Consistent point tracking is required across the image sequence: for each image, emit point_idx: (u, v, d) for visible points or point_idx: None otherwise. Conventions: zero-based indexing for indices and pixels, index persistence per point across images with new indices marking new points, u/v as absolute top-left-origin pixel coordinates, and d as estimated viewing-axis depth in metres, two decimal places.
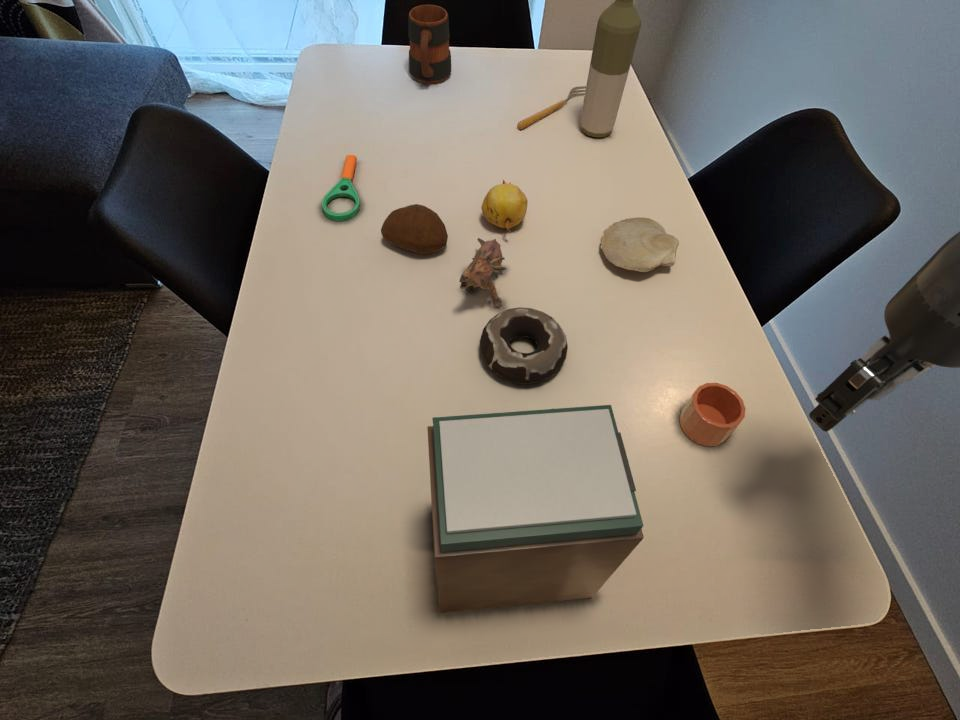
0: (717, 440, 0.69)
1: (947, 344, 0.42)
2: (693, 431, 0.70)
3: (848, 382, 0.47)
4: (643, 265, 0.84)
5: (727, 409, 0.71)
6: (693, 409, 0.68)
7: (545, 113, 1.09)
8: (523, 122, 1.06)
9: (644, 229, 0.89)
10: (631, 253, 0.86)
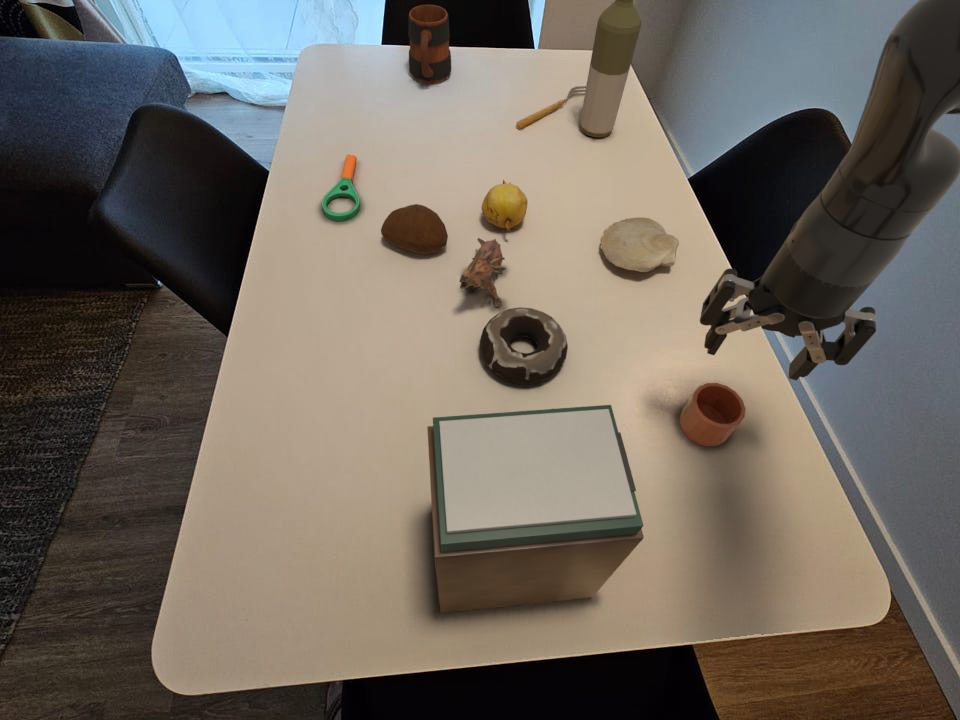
0: (717, 440, 0.69)
1: (781, 272, 0.49)
2: (693, 431, 0.70)
3: (718, 287, 0.55)
4: (643, 265, 0.84)
5: (727, 409, 0.71)
6: (693, 409, 0.68)
7: (544, 113, 1.09)
8: (522, 121, 1.07)
9: (644, 229, 0.89)
10: (631, 253, 0.86)
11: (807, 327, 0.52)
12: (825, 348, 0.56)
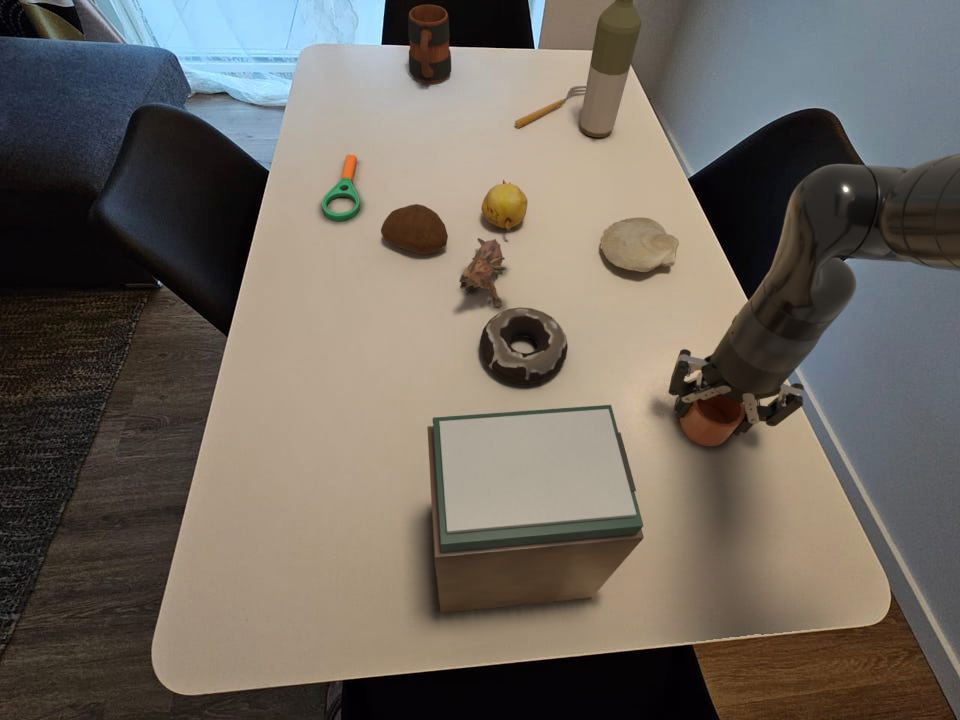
0: (717, 440, 0.69)
1: (724, 356, 0.59)
2: (693, 431, 0.70)
3: None
4: (643, 265, 0.84)
5: (727, 409, 0.71)
6: (693, 409, 0.68)
7: (543, 112, 1.09)
8: (520, 120, 1.07)
9: (644, 229, 0.89)
10: (631, 253, 0.86)
11: (749, 397, 0.62)
12: (758, 411, 0.66)
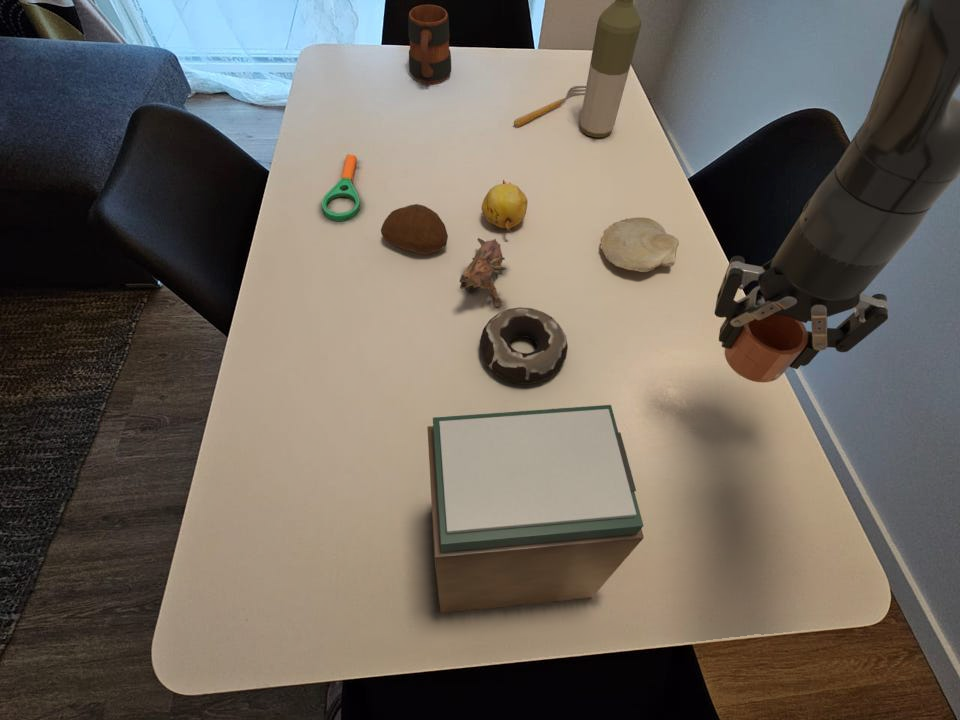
0: (773, 373, 0.57)
1: (793, 252, 0.47)
2: (743, 363, 0.58)
3: (727, 276, 0.54)
4: (643, 265, 0.84)
5: (783, 338, 0.59)
6: (744, 334, 0.56)
7: (542, 111, 1.09)
8: (519, 120, 1.07)
9: (644, 229, 0.89)
10: (631, 253, 0.86)
11: (820, 311, 0.50)
12: (826, 335, 0.54)
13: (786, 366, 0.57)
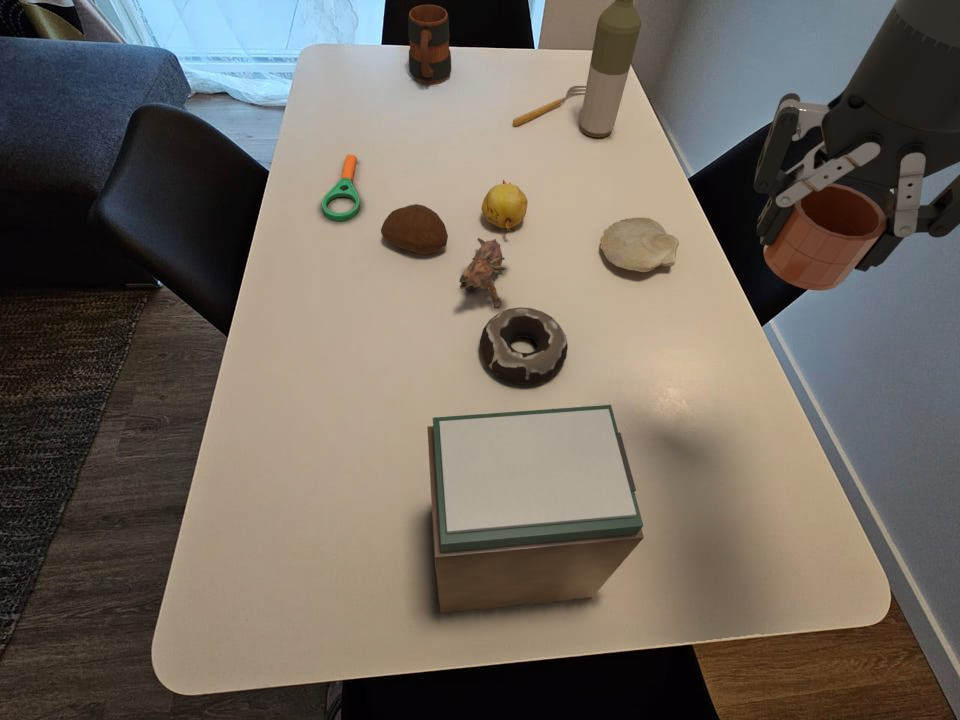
0: (833, 275, 0.41)
1: (884, 58, 0.31)
2: (792, 262, 0.41)
3: None
4: (643, 265, 0.84)
5: (845, 232, 0.43)
6: (796, 217, 0.40)
7: (541, 111, 1.09)
8: (518, 119, 1.07)
9: (644, 229, 0.89)
10: (631, 253, 0.86)
11: (914, 164, 0.34)
12: None
13: (853, 264, 0.40)
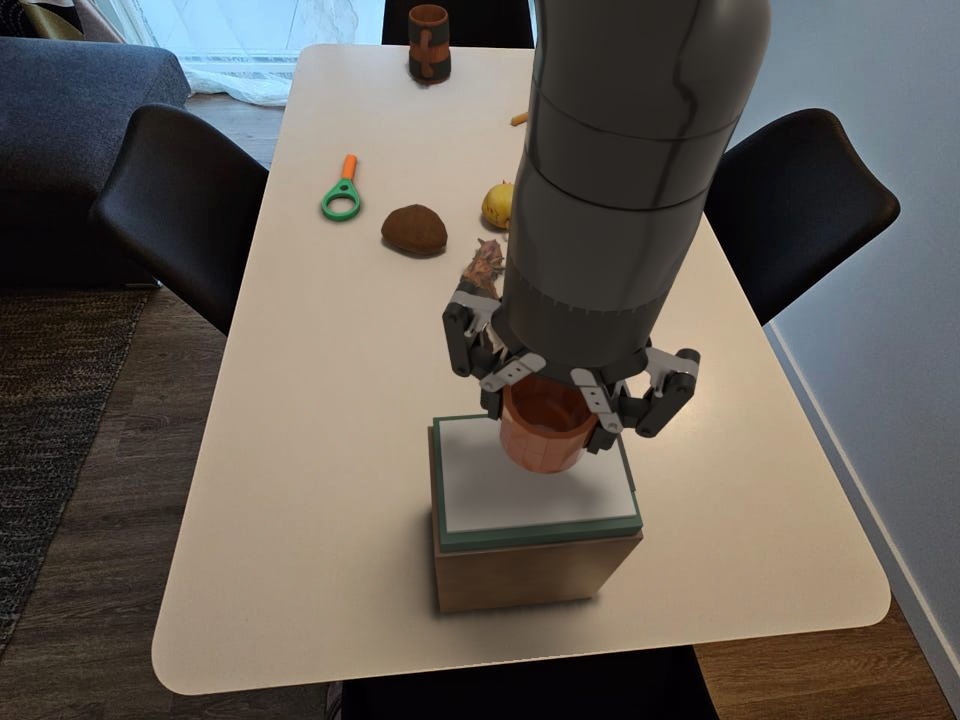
0: (554, 463, 0.36)
1: (506, 281, 0.26)
2: (511, 446, 0.37)
3: None
4: None
5: (581, 404, 0.38)
6: (503, 404, 0.35)
7: None
8: (517, 118, 1.07)
9: None
10: None
11: (584, 378, 0.29)
12: (622, 409, 0.33)
13: (573, 453, 0.36)
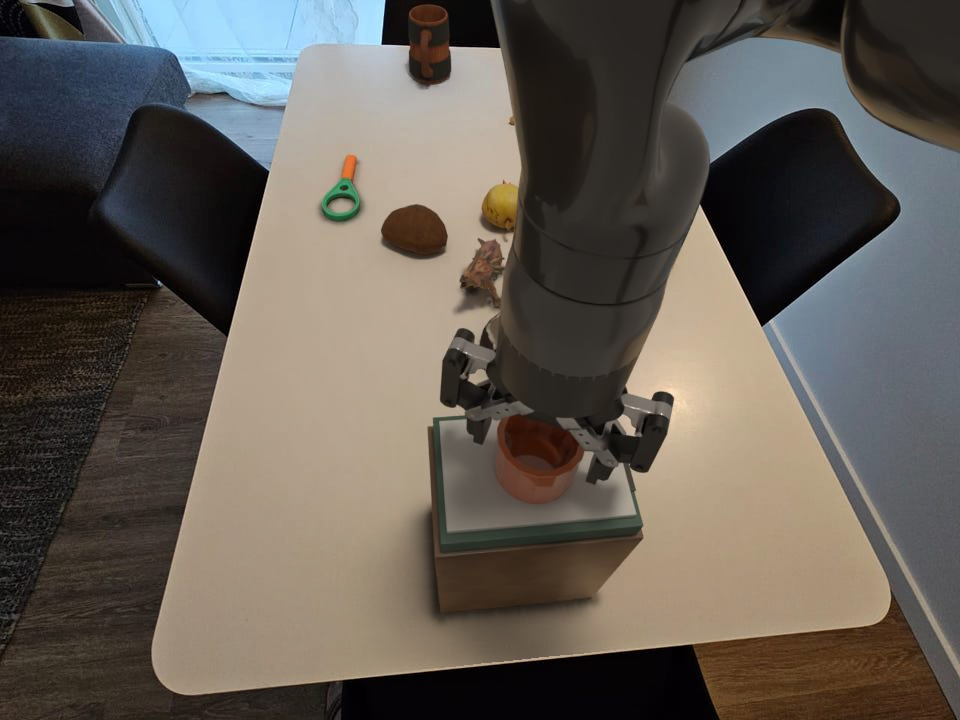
0: (543, 496, 0.41)
1: (499, 344, 0.30)
2: (504, 480, 0.41)
3: None
4: None
5: (568, 441, 0.43)
6: (497, 444, 0.40)
7: None
8: None
9: None
10: None
11: (569, 423, 0.33)
12: (618, 446, 0.37)
13: (559, 487, 0.40)
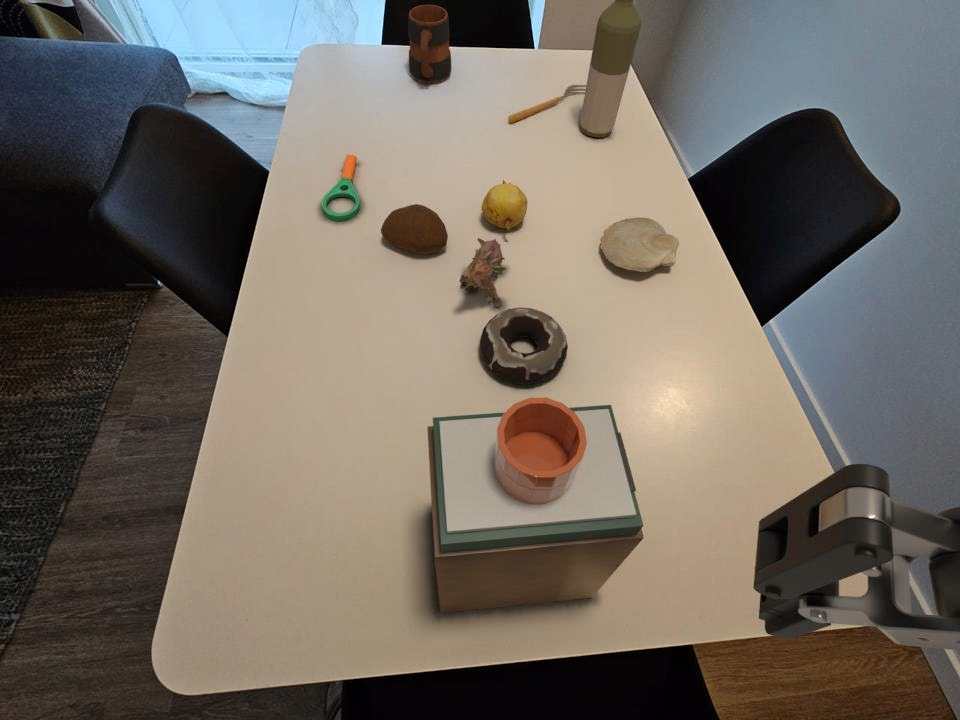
0: (543, 496, 0.41)
1: None
2: (504, 480, 0.41)
3: (819, 510, 0.17)
4: (643, 265, 0.84)
5: (568, 441, 0.43)
6: (497, 444, 0.40)
7: (538, 109, 1.10)
8: (514, 116, 1.08)
9: (644, 229, 0.89)
10: (631, 253, 0.86)
11: None
12: None
13: (559, 487, 0.40)
